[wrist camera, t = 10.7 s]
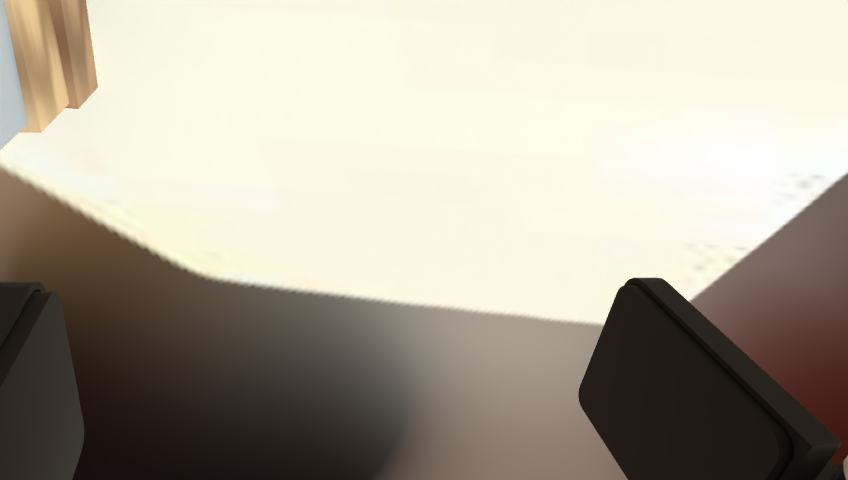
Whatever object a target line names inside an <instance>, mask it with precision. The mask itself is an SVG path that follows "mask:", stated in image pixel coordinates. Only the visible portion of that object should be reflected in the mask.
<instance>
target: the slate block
mask: <svg viewBox="0 0 848 480" xmlns="http://www.w3.org/2000/svg"><path fill="white" fill-rule="evenodd" d="M26 125H28V122H27V117H26V112H25V107H24V102H23V97H22V91H21V86H20V81H19V76H18V71H17V66H16V61H15V55H14V50H13V45H12V40H11V35H10V30H9V25H8V20H7V14H6V9H5V4H4V0H0V150H1V149H2V148H3V147H4V146H5V145H6V144H7V143H8V142H9V141H10V140H11V139H12V138H13V137H15V136H16V135H17V134H18V133H19V132H20V131H21V130H22V129H23V128H24V127H25V126H26Z"/></svg>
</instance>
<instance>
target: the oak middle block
mask: <svg viewBox="0 0 848 480" xmlns="http://www.w3.org/2000/svg"><path fill="white" fill-rule="evenodd" d="M4 4H5V9H6V14H7V20H8V25H9V30H10V35H11V40H12V45H13V50H14V55H15V61H16V66H17V71H18V76H19V81H20V86H21V91H22V97H23V102H24V107H25V112H26V117H27V122H28V125H26V126H25V127H24V128H23V129H22V130H21V131H20V132H42V131H43V130H44V129H45V128H46V127H47V126H48V125H49V124H50V123H51V122H52V121H53V120H54V119H55V118H56V117H57V116H58V115H59V114H60V113H61V112H62V111H63V110H64V109H65V107H66V106H67V105H68V104H69V98H68V93H67V89H66V84H65V79H64V74H63V69H62V64H61V59H60V54H59V49H58V44H57V39H56V34H55V30H54V25H53V20H52V15H51V10H50V5H49V0H4Z"/></svg>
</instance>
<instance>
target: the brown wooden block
mask: <svg viewBox="0 0 848 480" xmlns="http://www.w3.org/2000/svg"><path fill="white" fill-rule="evenodd" d="M49 5H50V10H51V15H52V20H53V25H54V30H55V34H56V39H57V44H58V49H59V54H60V59H61V64H62V69H63V74H64V79H65V84H66V89H67V93H68V98H69V104H68V105H67V106H66V107H65V108H73V109H79V107H80V106H81V105H82V104H83V103H84V102H85V101H86V100H87V99H88V97H89V96H90V95H91V94H92V93H93V92H94V91H95V90H96V88H97V87H98V84H97V77H96V70H95V63H94V56H93V49H92V41H91V34H90V27H89V20H88V13H87V6H86V0H49Z"/></svg>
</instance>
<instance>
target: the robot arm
mask: <svg viewBox="0 0 848 480" xmlns="http://www.w3.org/2000/svg"><path fill="white" fill-rule="evenodd" d="M579 402H580V405H581V407H582V409H583V410H584V412H585V413H586V415H587V417H588V418H589V420H590V421H591V423H592V424H593V426H594V428H595V429H596V431H597V432H598V434H599V435H600V437H601V438H602V440H603V441H604V443H605V444H606V446H607V448H608V449H609V451H610V452H611V454H612V455H613V457H614V458H615V460H616V462H617V463H618V465H619V466H620V468H621V469H622V471H623V472H624V474H625V476H626V477H627V479H628V480H848V456H847V458H846V459H845V460H844V461H843V463H842V464H841V465H840V467H839V468H838V467H837V466H836V465H835V464H834V463H833V462H832V461H831V460H830V459H831V457H832V456H833V455H834V453H835V452H836V451H837V449H838V448H839V447H840V445H841V444H842V442H841V441H840V440H839V439H838V438H837V437H836V436H834V435H833V434H832V433H831V432H830V431H829V430H828V429H827V428H826V427H825V426H824V425H823V424H821V423H820V422H819V421H818V420H817V419H816V418H815V417H814V416H812V414H810V413H809V412H808V411H807V410H806V409H805V408H804V407H803V406H802V405H801V404H800V403H799V402H797V401H796V400H795V399H794V398H793V397H792V396H791V395H790V394H789V393H788V392H787V391H785V390H784V389H783V388H782V387H781V386H780V385H779V384H778V383H777V382H776V381H774V380H773V379H772V378H771V377H770V376H769V375H768V374H767V373H766V372H764V370H762V369H761V368H760V367H759V366H758V365H757V364H756V363H755V362H754V361H753V360H751V359H750V358H749V357H748V356H747V355H746V354H745V353H744V352H743V351H742V350H741V349H740V348H738V347H737V346H736V345H735V344H734V343H733V342H732V341H731V340H730V339H729V338H727V337H726V336H725V335H724V334H723V333H722V332H721V331H720V330H719V329H718V328H717V327H715V326H714V325H713V324H712V323H711V322H710V321H709V320H708V319H707V318H706V317H704V316H703V315H702V314H701V313H700V312H699V311H698V310H697V309H696V308H695V307H694V306H692V305H691V304H690V303H689V302H688V301H687V300H686V299H685V298H684V297H683V296H682V295H681V294H679V293H678V292H677V291H676V290H675V289H674V288H673V287H672V286H671V285H670V284H669V283H667V282H666V281H665V280H663V279H661V278H632V279H629V280H628V281H627V282H626V283H625V285H624V286H622V287H621V288H620V289H619V290H618V292H617V294H616V297H615V299H614V302H613V304H612V307H611V310H610V312H609V315H608V317H607V320H606V322H605V325H604V327H603V330H602V332H601V335H600V337H599V340H598V342H597V345H596V348H595V350H594V352H593V355H592V357H591V360H590V363H589V365H588V368H587V370H586V373H585V375H584V378H583V380H582V383H581V385H580V388H579ZM83 440H84V423H83V418H82V412H81V407H80V402H79V397H78V391H77V386H76V380H75V375H74V370H73V364H72V359H71V354H70V348H69V343H68V338H67V332H66V327H65V322H64V316H63V311H62V305H61V301H60V297H59V295H58V293H57V292H45V288H44V286H43V285H42V283H40V282H37V281H32V282H31V281H30V282H0V480H72V478H73V475H74V472H75V469H76V466H77V463H78V460H79V456H80V454H81V450H82V446H83Z"/></svg>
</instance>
